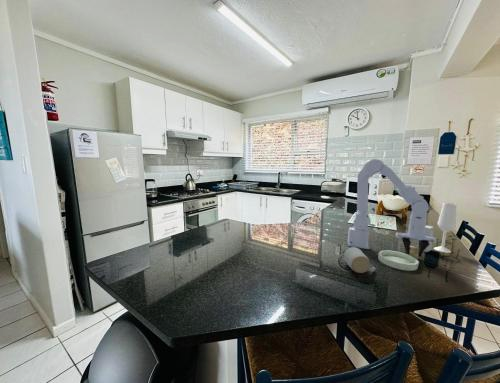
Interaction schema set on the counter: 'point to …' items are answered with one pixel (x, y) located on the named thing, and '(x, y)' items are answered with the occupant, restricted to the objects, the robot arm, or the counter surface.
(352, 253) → the ceramic mug
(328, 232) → the counter surface
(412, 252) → the maple cylinder
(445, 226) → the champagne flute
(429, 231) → the skincare box
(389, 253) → the round tray
